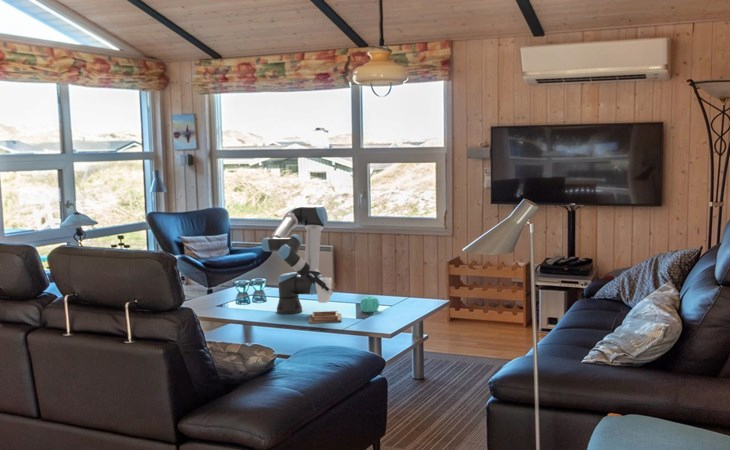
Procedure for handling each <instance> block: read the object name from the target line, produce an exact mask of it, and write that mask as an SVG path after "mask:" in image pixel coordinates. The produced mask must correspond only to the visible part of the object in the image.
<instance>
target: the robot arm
mask: <svg viewBox="0 0 730 450" xmlns="http://www.w3.org/2000/svg"><path fill="white" fill-rule="evenodd" d="M328 219H329V217H328V212H327V209H326V208H325V206H323V205H298V206H295V207H293V208H291V209H290V210H288V211H287V212H286V213H285V214H284V216H283V218H282V220H281V222H280V224H279V225H278V226H277V227H276V229H274V231H273V232H272V234H271V236H270V237H264V238H263V239H262V241H261V249H262V251H264V252H277V256H278V257H280V259H281V260H283V262H285V263H286V264H287V265H289V267H290V268H291V270H292V271H293V272H286V273H282V274H280V275H279V276H278V279H277V280H278V298H279V299H278V303H277V306H276V313H277V314H282V315H284V314H285V315H289V314H292V315H293V314H298V313H301V312H302V311H303V306H302V303H301V301H300V298H299V295H311V296H313V295H317V290H316V284H315V282H316V283H317V284H318V285H320V286H321V287H322V288H321V289H324V290H325V291H326V292H327V293H328V294H329V295H330V297H331V296H332V295H333V294H334V291H333V290H332V288H331V289H330V288H329V287H328V286H327V285H326V284H325V283H324V282H323V281H321V280H320V279H319V278H324V276H323V275H322V274H321V271H320V270H319V264H320V251H321V250H320V249H321V235H322V234H321V233H322V230H324V227H325V226H326V225H327V223H328V222H329V220H328ZM297 226H304V228H305V229H306V232H305V233H306V236H305V237H306V238H305V248H304V249H305V250H304V258H302V257H301V256H300V255H298V252H299V250H300V248H301V246H302V242H303V240H302V237H301V236H300V235H298V234H296V233H293V234H291V235H290V236H289V234H290V233H291V232H292V230H293V229H295V228H296V227H297ZM288 236H289V237H288Z"/></svg>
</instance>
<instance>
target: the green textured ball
mask: <svg viewBox="0 0 730 450" xmlns="http://www.w3.org/2000/svg"><path fill="white" fill-rule="evenodd" d="M379 307H380V302H379V300H378V298H377V297H375V296H363V297H362V298H361V300H360V308H361V311H363V312H364V313H374V312H375V313H376V312H377V311H378V309H379Z"/></svg>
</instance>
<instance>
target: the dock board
mask: <svg viewBox="0 0 730 450" xmlns="http://www.w3.org/2000/svg"><path fill="white" fill-rule="evenodd" d="M338 312H339V311H338V310H329V311H328V310H326V311H325V310H323V311H312V314H309V317H308V324H309V325H310V324H329V323H330V324H331V323H335V324H336V323H342V313H338Z"/></svg>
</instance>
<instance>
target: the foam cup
mask: <svg viewBox="0 0 730 450" xmlns="http://www.w3.org/2000/svg"><path fill="white" fill-rule="evenodd" d="M319 279H320V280H321V281H323V282H324V283H325V284H326V285H327V286H328V287H329V288H330V289H331V290H332V283H333V282H332V281H333V279H332V277H323V278H319ZM315 284H316V290H317V294H316V295H317V302H318V303H321V304H323V303H330V301H331V296H330V295H329V294H328V293H327V292H326V291H325V290H324V289H321V288H322V287H321V286H320V285H318V284H317V283H316V282H315Z"/></svg>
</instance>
